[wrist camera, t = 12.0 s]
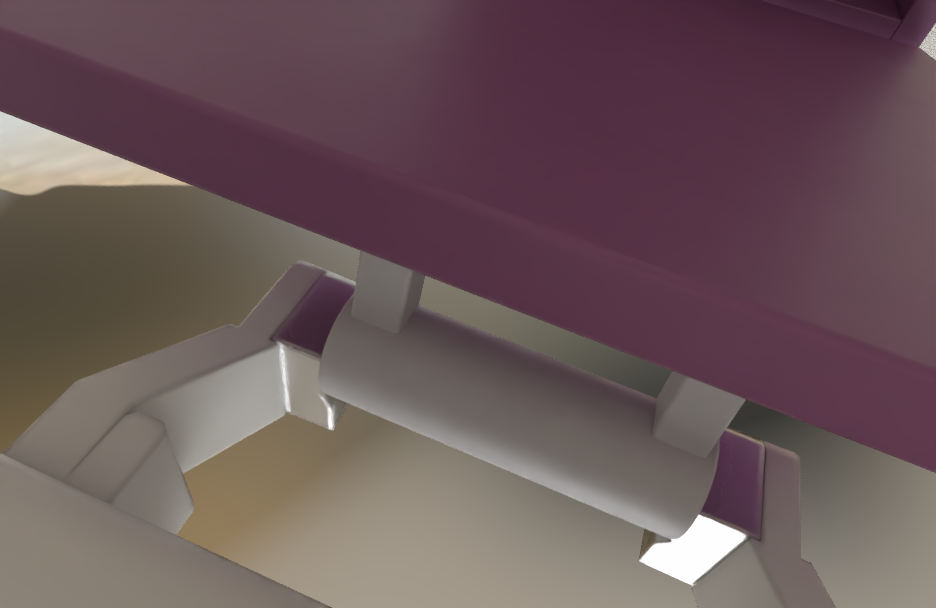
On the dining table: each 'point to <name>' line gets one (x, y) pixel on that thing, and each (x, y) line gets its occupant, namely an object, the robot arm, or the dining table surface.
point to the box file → (873, 16)
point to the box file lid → (553, 206)
